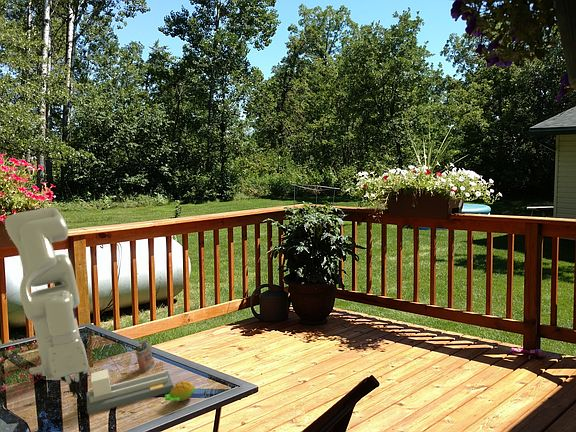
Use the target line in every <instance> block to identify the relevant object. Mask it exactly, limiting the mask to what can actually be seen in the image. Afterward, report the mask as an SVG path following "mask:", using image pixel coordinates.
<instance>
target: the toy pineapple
mask: <svg viewBox="0 0 576 432" xmlns="http://www.w3.org/2000/svg"><path fill="white" fill-rule="evenodd" d="M195 390H196V388H195V385H193V383H191V382H190V381H186V380H183V381H180V382H176V383H175V385H173V388H172V390H171V392H169V393H168V394H167V393H166V394H165V395H164V400H165V401H169V402H170V403H173V402H179V401H180V402H183V401H186V400H188V399H190V397H192V396H193V394H194V392H195Z"/></svg>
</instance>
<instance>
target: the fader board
mask: <svg viewBox="0 0 576 432" xmlns="http://www.w3.org/2000/svg"><path fill="white" fill-rule="evenodd" d="M110 386H111V393H108V394H104V395H100V396H97V397H94V393H93V389H92V390H88V391H87V392H86V410H87V411H86V412H87V415H92V414H95V413H98V412H102V411H106V410H111V409H114V408H117V407H122V406H124V405H128V404H131V403H135V402H138V401H143V400H145V399H150V398H153V397H156V396H159V395H161V396H162V395H164V394H167V393H168V394H169V393H170V392H171V390H172V388H173V387H174V384H173V380H172V378H171V376H170V373H169V370H163V371H159V372H156V373H151V374H148V375H145V376H141V377H137V378H134V379H129V380H126V381H121V382H118V383H115V384H110Z"/></svg>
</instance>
